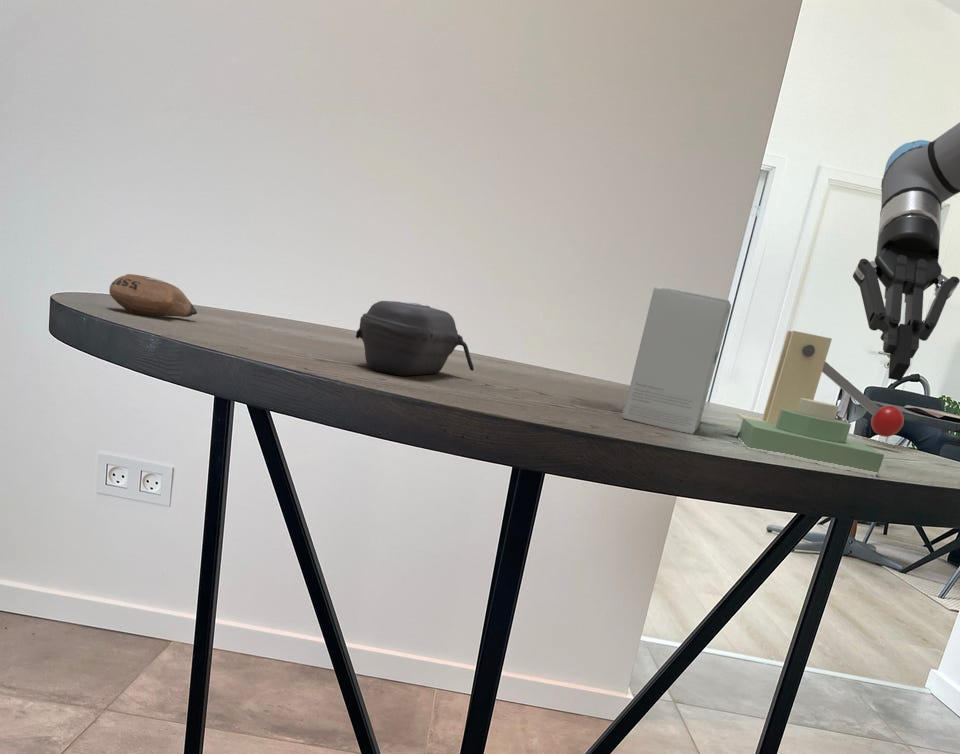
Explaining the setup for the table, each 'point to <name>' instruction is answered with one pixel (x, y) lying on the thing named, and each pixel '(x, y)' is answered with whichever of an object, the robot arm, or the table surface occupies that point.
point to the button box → (810, 440)
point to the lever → (870, 406)
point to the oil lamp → (150, 297)
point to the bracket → (795, 373)
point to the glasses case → (408, 338)
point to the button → (817, 409)
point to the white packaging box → (676, 359)
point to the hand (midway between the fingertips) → (899, 371)
